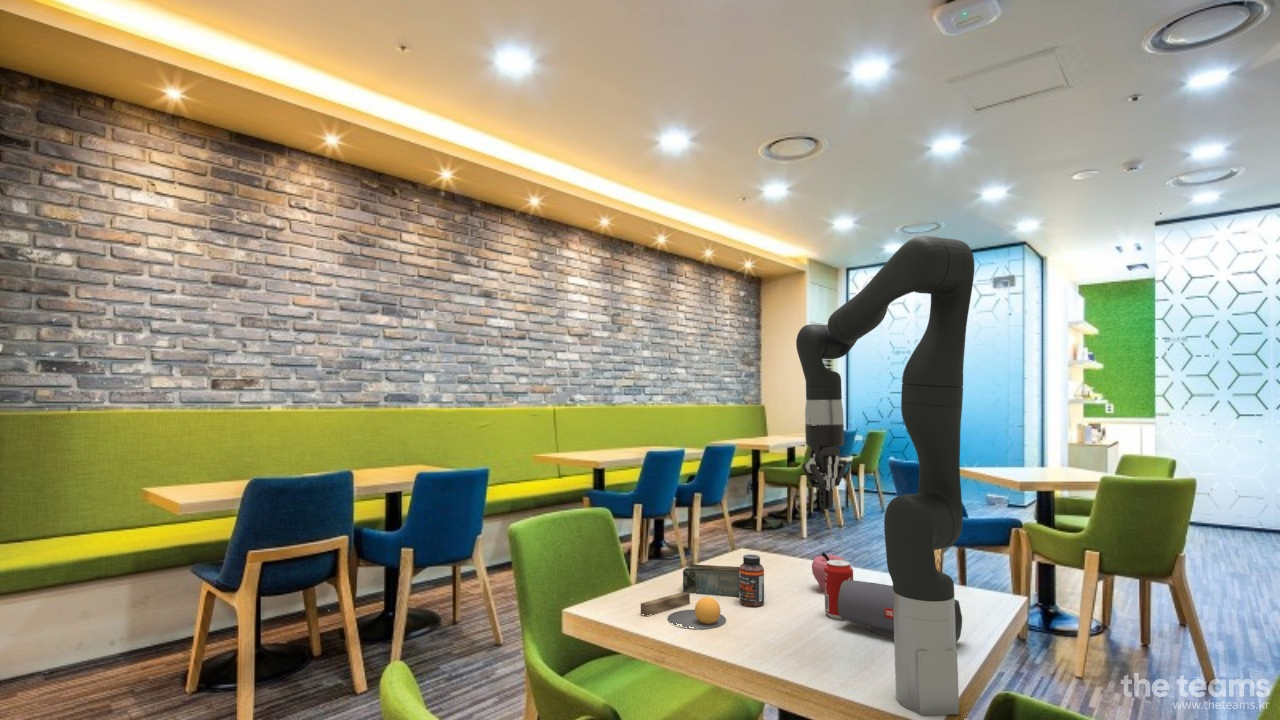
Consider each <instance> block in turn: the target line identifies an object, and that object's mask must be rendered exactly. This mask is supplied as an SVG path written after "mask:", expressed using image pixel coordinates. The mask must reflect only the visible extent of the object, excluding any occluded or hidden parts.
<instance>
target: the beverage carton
mask: <svg viewBox="0 0 1280 720" xmlns="http://www.w3.org/2000/svg"><path fill="white" fill-rule="evenodd" d="M739 568H740V566H728V565H727V566H726V565H725V566H723V565H710V564H698V563H697V564H696V563H689V564H688V565H687V566H686V567H685V568H684V569H683V570H682V592H686V593H690V594H694V593H696V595H708V596H718V595H721V597H733V596H735V598H739Z"/></svg>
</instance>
